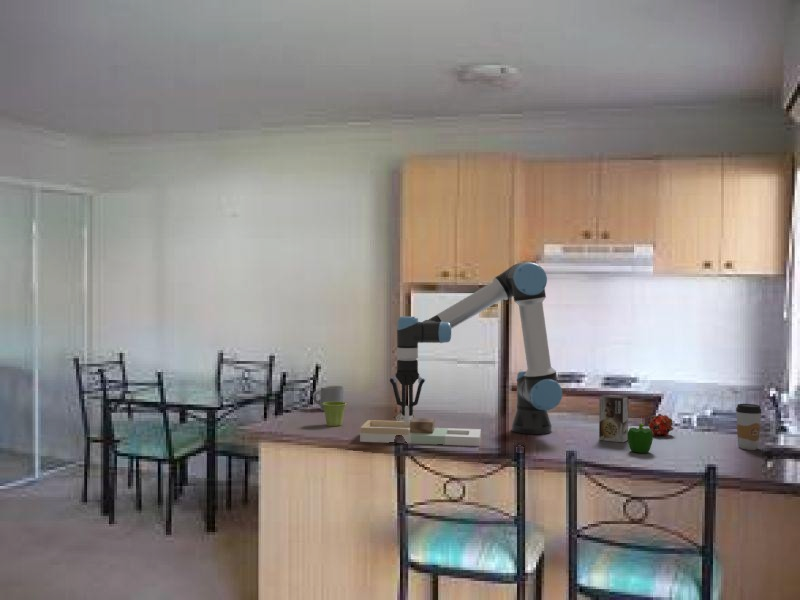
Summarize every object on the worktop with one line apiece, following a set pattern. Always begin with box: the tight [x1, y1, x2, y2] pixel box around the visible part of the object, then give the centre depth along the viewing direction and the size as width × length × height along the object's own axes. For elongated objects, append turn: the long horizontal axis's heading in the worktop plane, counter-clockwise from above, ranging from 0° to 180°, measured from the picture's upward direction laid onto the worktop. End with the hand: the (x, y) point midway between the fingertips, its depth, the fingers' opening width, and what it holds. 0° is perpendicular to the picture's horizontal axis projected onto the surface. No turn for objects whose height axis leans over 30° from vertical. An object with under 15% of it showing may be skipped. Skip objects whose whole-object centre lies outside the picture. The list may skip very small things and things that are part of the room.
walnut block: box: [410, 417, 435, 434], centre depth 288 cm, size 8×8×4 cm
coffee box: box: [598, 394, 629, 443], centre depth 291 cm, size 9×6×16 cm
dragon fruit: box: [647, 413, 674, 437], centre depth 302 cm, size 8×8×12 cm
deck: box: [359, 419, 482, 447], centre depth 288 cm, size 42×16×5 cm, turn 83°
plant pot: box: [322, 401, 347, 427], centre depth 315 cm, size 9×9×9 cm
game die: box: [393, 410, 415, 421], centre depth 306 cm, size 9×8×10 cm
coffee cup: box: [735, 403, 763, 451], centre depth 279 cm, size 8×8×15 cm
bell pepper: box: [627, 423, 654, 454], centre depth 270 cm, size 8×8×10 cm
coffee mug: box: [312, 385, 344, 412], centre depth 356 cm, size 13×10×10 cm
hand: (407, 424), depth 289 cm, fingers closed
